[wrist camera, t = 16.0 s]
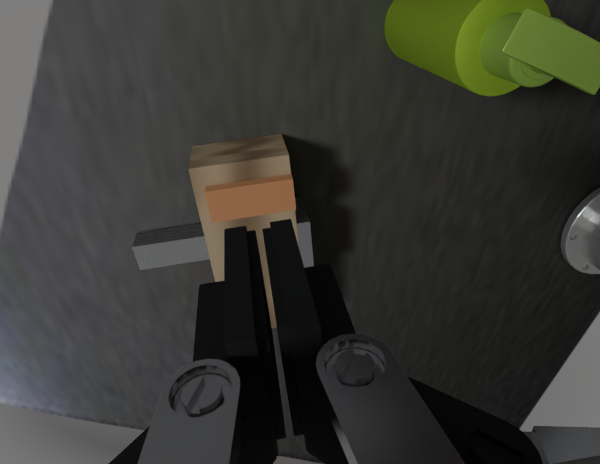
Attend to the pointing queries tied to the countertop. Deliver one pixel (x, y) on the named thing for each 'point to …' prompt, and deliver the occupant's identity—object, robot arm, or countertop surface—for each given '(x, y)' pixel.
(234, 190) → the bar
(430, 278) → the countertop surface
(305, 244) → the lynch pin
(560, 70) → the soap dispenser
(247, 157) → the block
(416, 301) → the countertop surface
